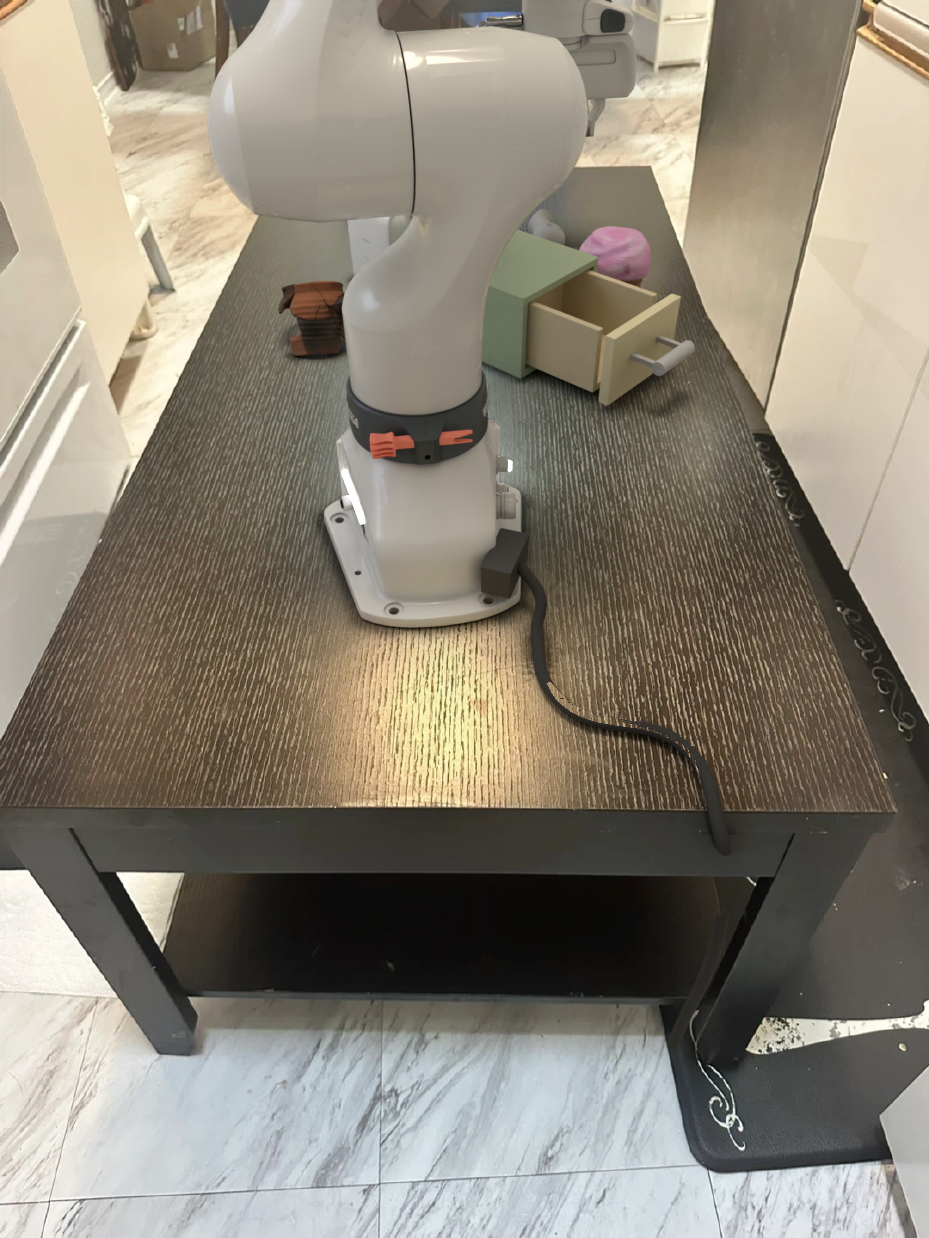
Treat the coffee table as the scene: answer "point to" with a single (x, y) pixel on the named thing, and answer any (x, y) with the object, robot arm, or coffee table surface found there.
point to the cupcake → (620, 253)
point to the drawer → (603, 334)
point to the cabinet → (524, 295)
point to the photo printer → (374, 236)
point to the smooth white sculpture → (545, 227)
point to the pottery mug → (315, 316)
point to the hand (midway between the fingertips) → (551, 138)
